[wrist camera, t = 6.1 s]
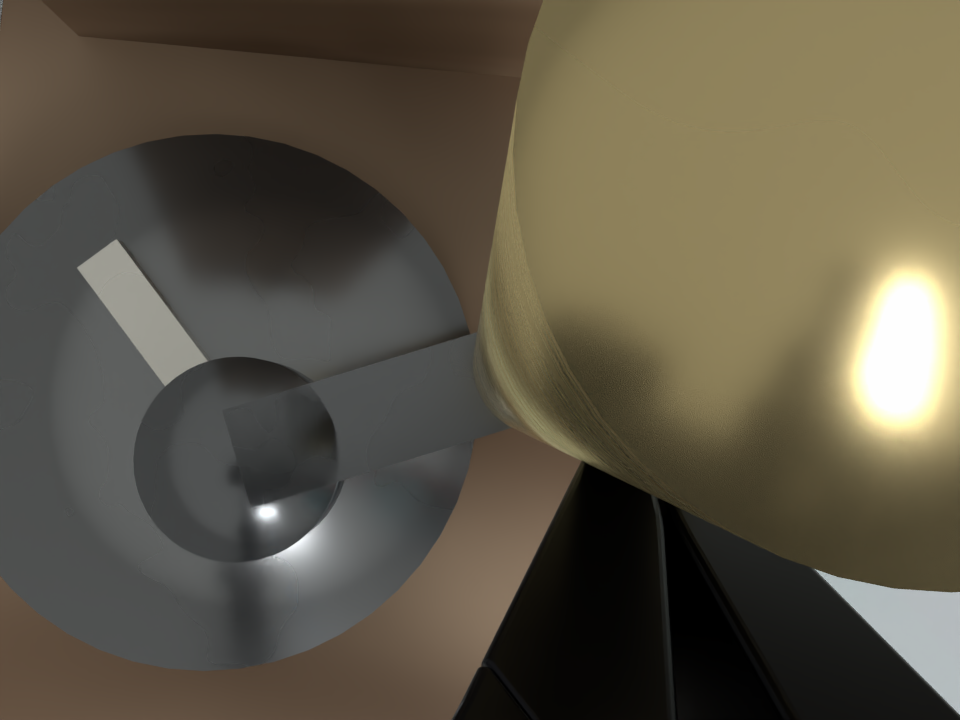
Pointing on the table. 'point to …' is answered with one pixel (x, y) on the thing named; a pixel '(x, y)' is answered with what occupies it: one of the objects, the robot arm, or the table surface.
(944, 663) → the table surface
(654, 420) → the cam capstan
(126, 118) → the level stand
